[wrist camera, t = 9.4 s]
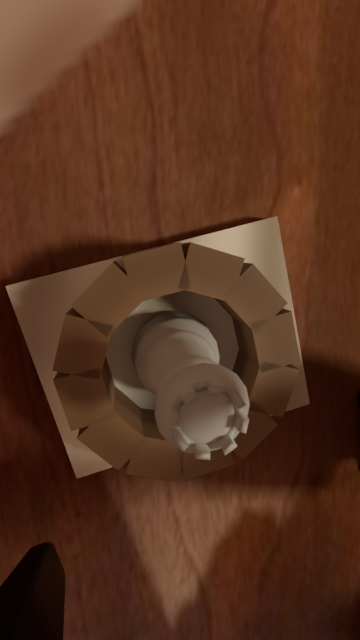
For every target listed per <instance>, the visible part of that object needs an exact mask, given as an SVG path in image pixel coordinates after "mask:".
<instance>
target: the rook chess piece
mask: <svg viewBox="0 0 360 640" xmlns="http://www.w3.org/2000/svg"><path fill="white" fill-rule="evenodd" d="M219 359H220V355H219V350H218V345H217V340H216V339H215V337H214V336H213V334H212V333H211V332H210V330H209V329H208V327H207V326H206V324H205V323H204V322H203V321H201V320H199V319H198V318H196V317H194V316H193V315H191V314H187V313H180V312H170V313H166V314H162V315H158V316H156V317H155V318H153V319H152V320H151V321H149V322H148V323H146V324H145V325H144V326H143V327H142V329H141V330H140V332H139V333H138V335H137V337H136V338H135V340H134V345H133V351H132V360H133V364H134V368H135V371H136V373H137V377H138V379H139V380H140V381H141V383H142V384H143V385H144V386H145V388H146V389H147V390H148V391H149V392H151V393H153V394H155V395H157V401H156V407H155V413H154V415H155V419H156V423H157V426H158V430H159V432H160V433H161V435H162V436H163V437H164V438H165V439H166V441H167V442H168V443H169V444H170V445H172V446H174V447H176V448H178V449H180V451H181V452H182V453H183V452H187V453H193V454H194V457H195V459H200V460H210V452H211V451H214V450H217V449H221V448H222V450H223V452H224V454H225V455H227V454H228V453H230V452H231V451H232V450H234V449H235V448H236V447H238V446H237V444H236V443H235V441H234V438H236V437H237V435H238V434H239V432H242V433H246V432H247V428H248V423H249V418H248V417H247V416H248V411H249V406H250V403H249V398H248V393H247V388H246V386H245V385H244V384H243V382H242V381H241V379H240V378H239V376H238V375H237V374H236V373H234V372H233V371H231V370H229V369H227V368H226V367H224V366H222V365H220V364H219Z"/></svg>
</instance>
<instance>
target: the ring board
mask: <svg viewBox="0 0 360 640" xmlns="http://www.w3.org/2000/svg"><path fill="white" fill-rule="evenodd" d="M5 287H6V289H7V292H8V295H9V298H10V300H11V303H12V306H13V308H14V311H15V314H16V316H17V319H18V322H19V324H20V327H21V330H22V333H23V335H24V338H25V341H26V343H27V346H28V349H29V351H30V354H31V357H32V359H33V362H34V365H35V368H36V370H37V373H38V376H39V378H40V381H41V384H42V386H43V389H44V392H45V394H46V397H47V400H48V403H49V405H50V408H51V411H52V413H53V416H54V419H55V421H56V424H57V427H58V429H59V432H60V435H61V438H62V440H63V443H64V446H65V448H66V451H67V454H68V456H69V459H70V462H71V464H72V467H73V470H74V473H75V475H76V478H81V477H84V476H87V475H90V474H93V473H96V472H99V471H102V470H105V469H109V468H112V467H114V468H115V469H116V470H119V469H120V468H121V467H122V466H123V465H124V464H125V463H126V474H128V475H135V476H142V477H148V478H155V479H162V480H168V481H175V482H177V480H178V477H179V474H180V470H181V467H182V469H183V473H184V476H185V480H186V481H187V480H190V479H193V478H196V477H199V476H202V475H205V474H208V473H211V472H214V471H217V470H220V469H223V468H226V467H229V466H232V465H234V461H233V456H232V452H233V453H235V454H236V455H237V456H238V457H239V458H240V459H241V460H243V459H244V458H245V457H246V456H247V455H248V454H249V453H250V452H251V451H252V450H253V449H254V448H255V447H256V446H257V445H258V444H259V443H260V442H261V441H262V440H263V439H264V438H265V437H266V436H267V435H268V434H269V433H270V432H272V431H273V430H274V429H275V428H276V427H277V426H278V424H277V423H276V421H275V420H274V419H273V418H272V417H271V416H279V417H283V416H284V414H285V412H286V411H289V410H292V409H296V408H299V407H302V406H305V405H308V404H310V401H309V395H308V390H307V384H306V378H305V373H304V367H303V361H302V355H301V350H300V344H299V338H298V332H297V327H296V321H295V315H294V309H293V304H292V298H291V292H290V286H289V281H288V275H287V269H286V263H285V258H284V252H283V246H282V240H281V235H280V229H279V223H278V218H277V216H276V217H271V218H267V219H263V220H259V221H255V222H252V223H248V224H244V225H240V226H236V227H232V228H228V229H224V230H220V231H217V232H213V233H209V234H205V235H201V236H197V237H193V238H189V239H186V240H182V241H178V242H174V243H170V244H166V245H162V246H158V247H154V248H151V249H147V250H143V251H139V252H135V253H131V254H127V255H123V256H119V257H116V258H112V259H108V260H104V261H100V262H96V263H92V264H88V265H84V266H81V267H77V268H73V269H69V270H65V271H61V272H57V273H53V274H50V275H46V276H42V277H38V278H34V279H30V280H26V281H22V282H18V283H15V284H11V285H8V286H5ZM170 312H180V313H187V314H191V315H193V316H194V317H196V318H198V319H199V320H201V321H203V322H204V323H205V324H206V326H207V327H208V329H209V330H210V332H211V333H212V334H213V336H214V337H215V339H216V340H217V345H218V350H219V355H220V359H219V364H220V365H222V366H224V367H226V368H227V369H229V370H231V371H233V372H234V373H236V374H237V375H238V376H239V378H240V379H241V381H242V382H243V384H244V385H245V386H246V388H247V393H248V398H249V403H250V406H249V411H248V416H247V417H248V418H249V423H248V428H247V432H246V433H242V432H239V434H238V435H237V437H236V438H234V441H235V443H236V444H237V446H238V447H236V448H235V449H234V450H232V452H230V453H228V454H227V455H225V454H224V452H223V450H222V448H221V449H217V450H214V451H211V452H210V460H200V459H195V457H194V454H193V453H187V452H183V453H182V452H181V451H180V449H178V448H176V447H174V446H172V445H170V444H169V443H168V442H167V441H166V439H165V438H164V437H163V436H162V435H161V433H160V432H159V430H158V426H157V423H156V419H155V415H154V413H155V407H156V401H157V395H155V394H153V393H151V392H149V391H148V390H147V389H146V388H145V386H144V385H143V384H142V383H141V381H140V380H139V379H138V377H137V373H136V371H135V368H134V364H133V360H132V351H133V345H134V340H135V338H136V337H137V335H138V333H139V332H140V330H141V329H142V327H143V326H144V325H145V324H146V323H148V322H149V321H151V320H152V319H153V318H155V317H156V316H158V315H162V314H166V313H170Z"/></svg>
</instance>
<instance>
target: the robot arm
mask: <svg viewBox="0 0 360 640" xmlns="http://www.w3.org/2000/svg"><path fill="white" fill-rule="evenodd" d="M359 404H360V393H359ZM64 603H65V572H64V568H63V566H62V563H61V561H60V559H59V556H58V554H57V551H56V549H55V546H54V545H53V543H52V542H50V541H47V542H44V543H41V544H38V545H35V546H33V547H32V548H31V549H30V550H29V551H28V552H27V553H26V555H25V556H24V557H23V558H22V560H21V561H20V562H19V563H18V565H17V566H16V567H15V569H14V570H13V571H12V572H11V574H10V575H9V576H8V577H7V579H6V580H5V581H4V583H3V584H2V585H1V586H0V640H63V626H64Z"/></svg>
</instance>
